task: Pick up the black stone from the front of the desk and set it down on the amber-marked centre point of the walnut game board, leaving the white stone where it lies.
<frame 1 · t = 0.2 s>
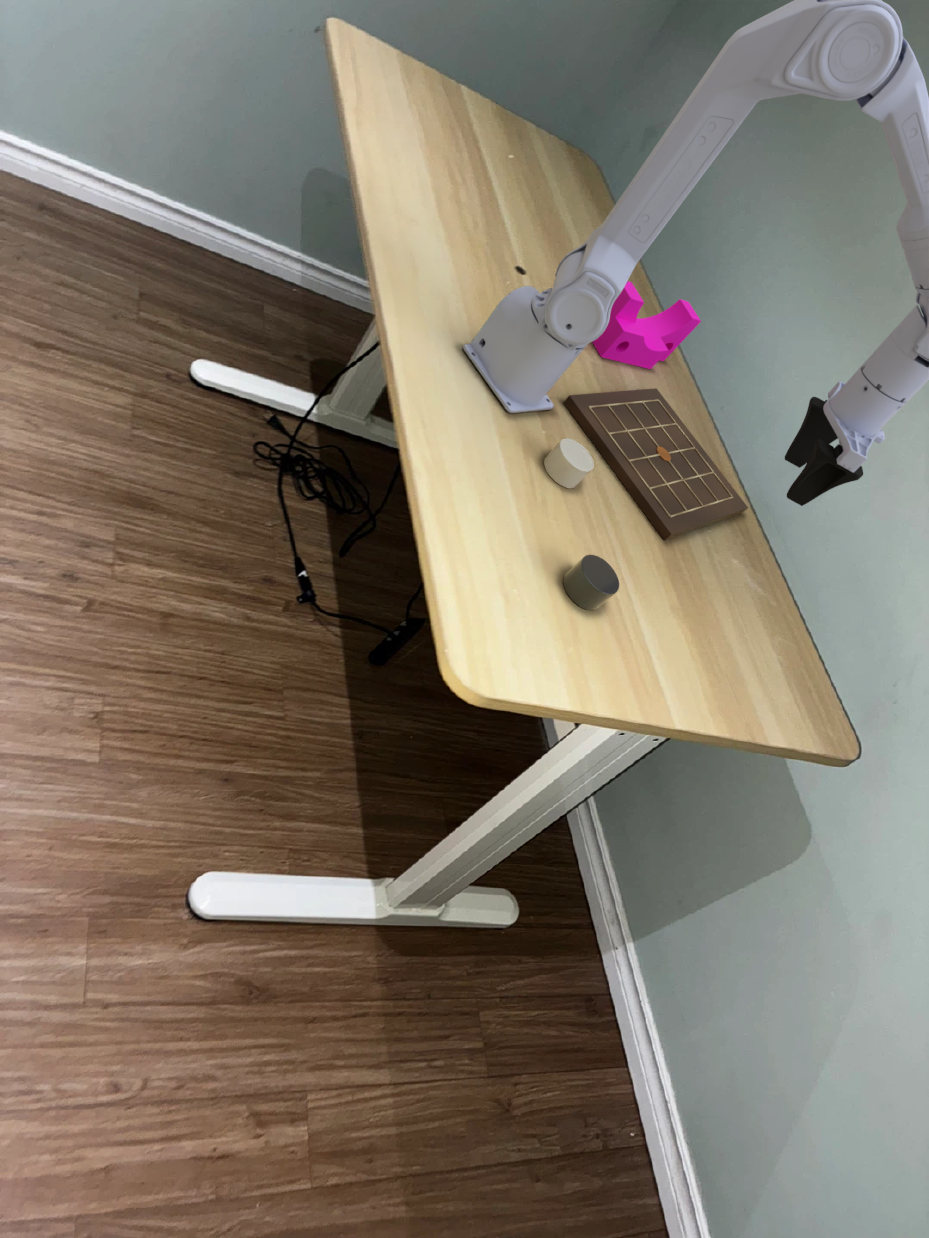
hand: (793, 480, 91), 10 cm above the table, tool pointing down, fingers open, 7 cm apart
toy block: (626, 350, 112), on the table
white stone: (560, 472, 86), on the table
board: (656, 460, 99), on the table
black stone: (581, 590, 76), on the table
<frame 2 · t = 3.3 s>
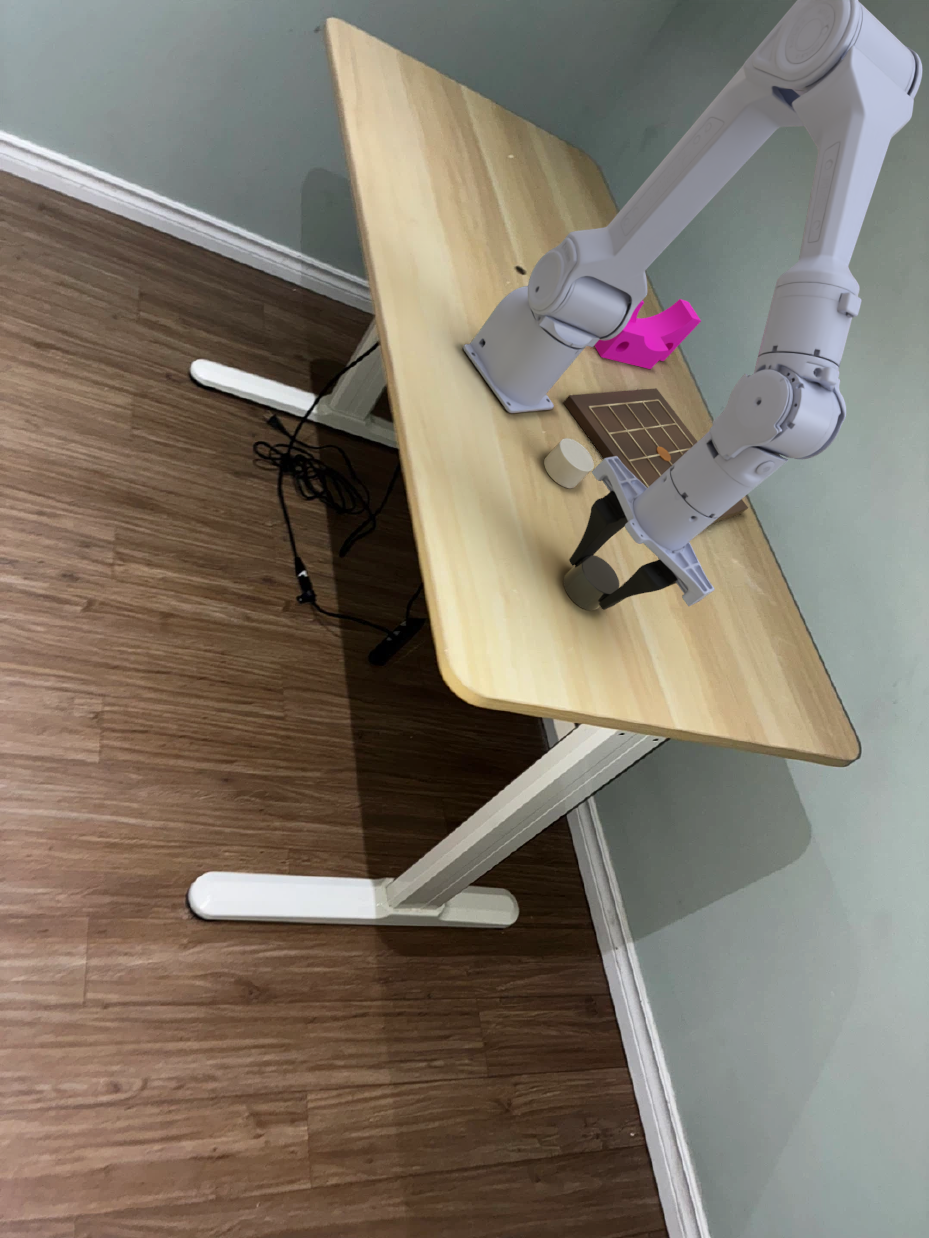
hand: (591, 582, 75), 1 cm above the table, tool pointing down, fingers closed on black stone, 4 cm apart
black stone: (581, 590, 76), on the table, touching gripper
everything else where it was.
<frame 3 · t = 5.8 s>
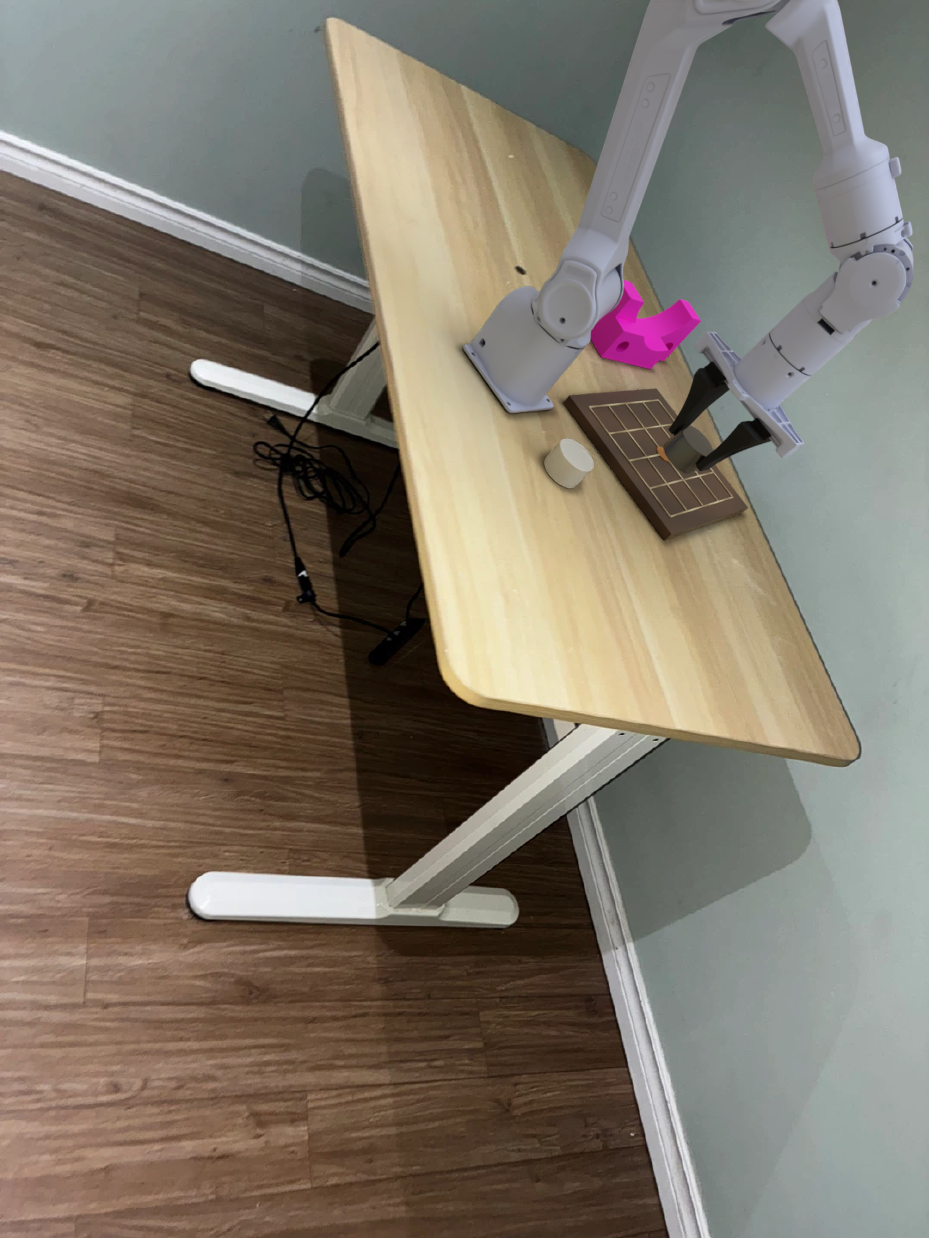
hand: (688, 449, 85), 8 cm above the table, tool pointing down, fingers closed on black stone, 4 cm apart
black stone: (678, 458, 86), point 7 cm above the table, touching gripper
everything else where it was.
when the fingers open (3 cm above the table, at t = 8.5 s): black stone stays where it is, resting on board.
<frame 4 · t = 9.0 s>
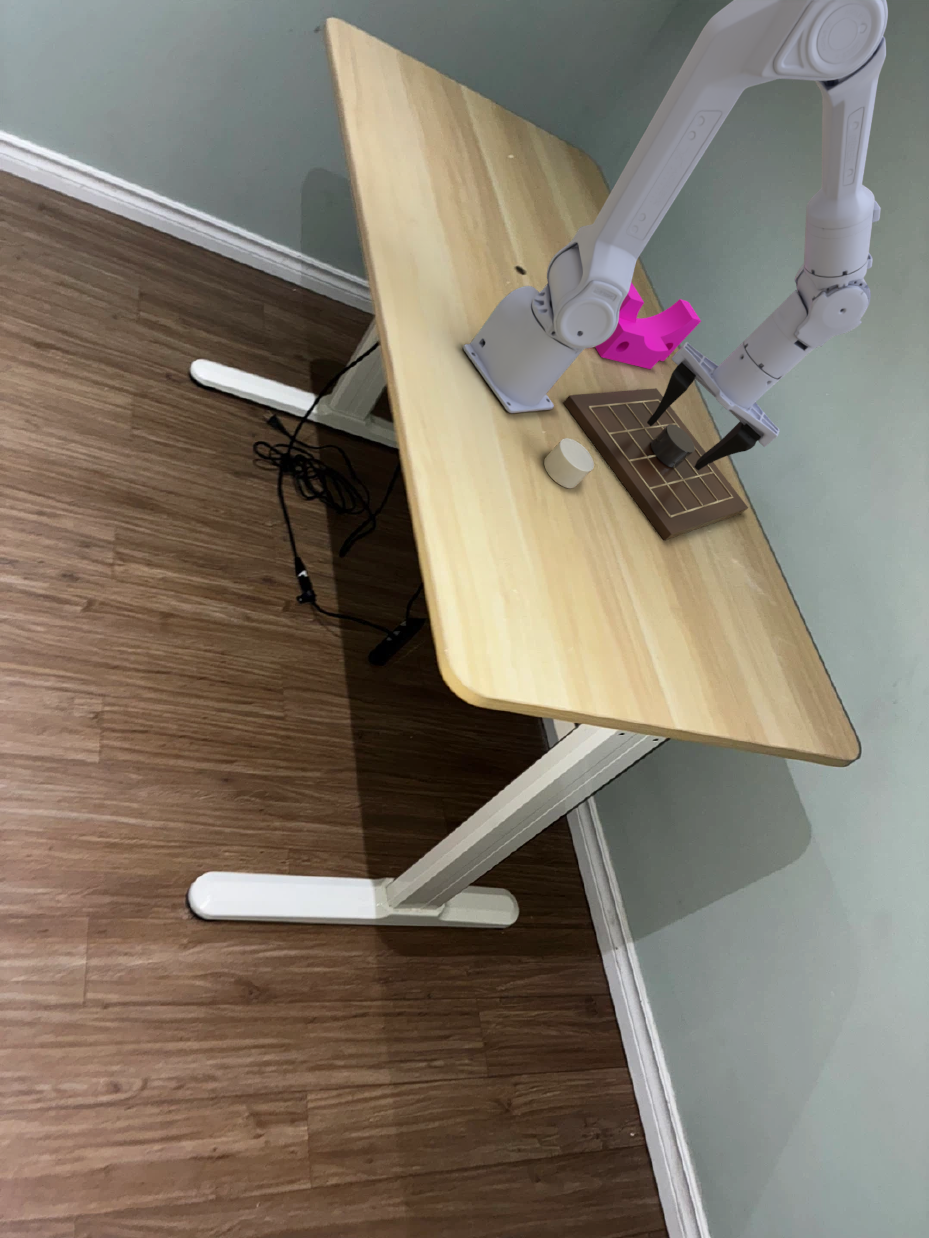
hand: (674, 443, 97), 3 cm above the table, tool pointing down, fingers open, 7 cm apart
black stone: (664, 453, 98), point 1 cm above the table, touching board
everything else where it was.
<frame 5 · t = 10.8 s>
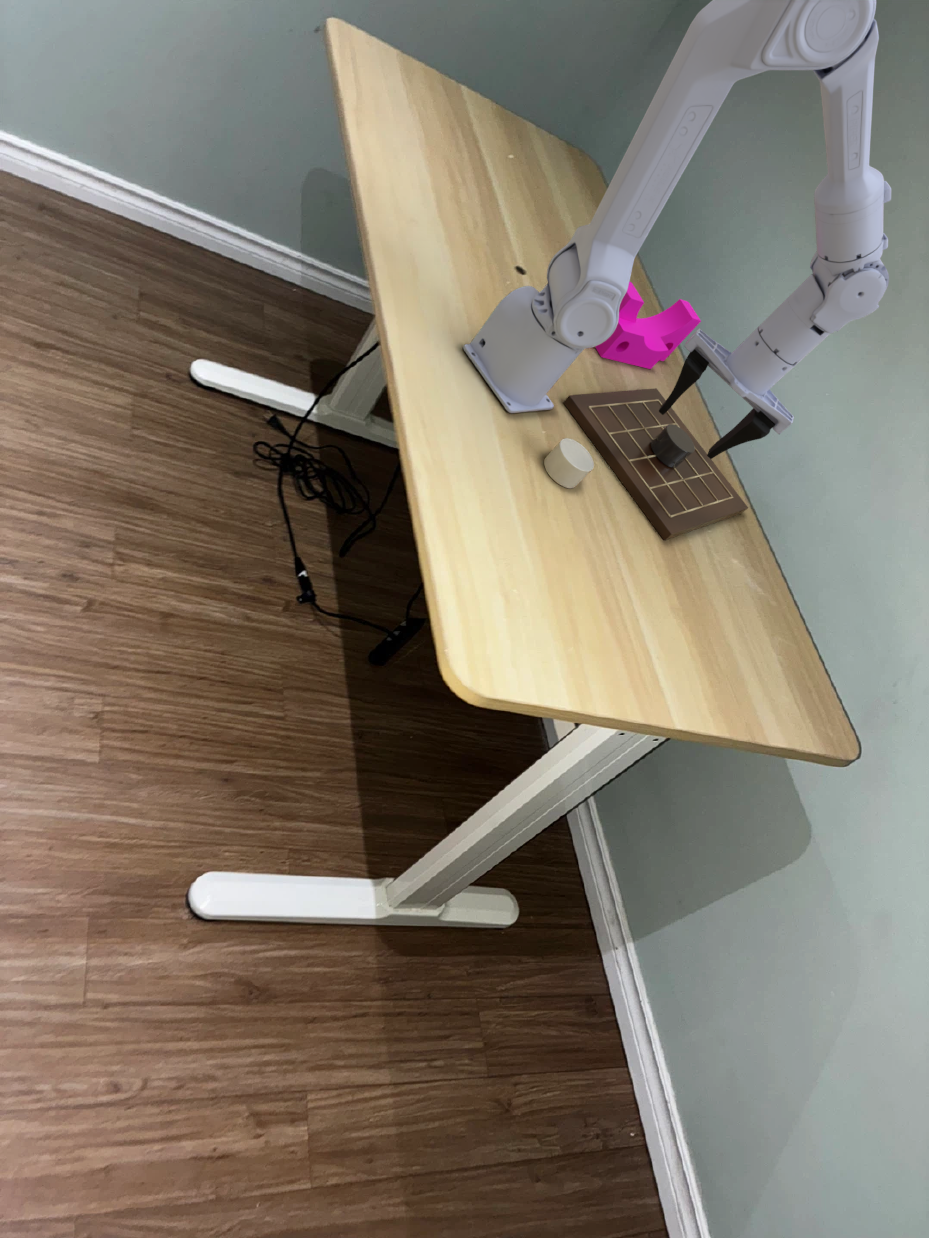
hand: (686, 432, 95), 5 cm above the table, tool pointing down, fingers open, 7 cm apart
nothing on the table moved.
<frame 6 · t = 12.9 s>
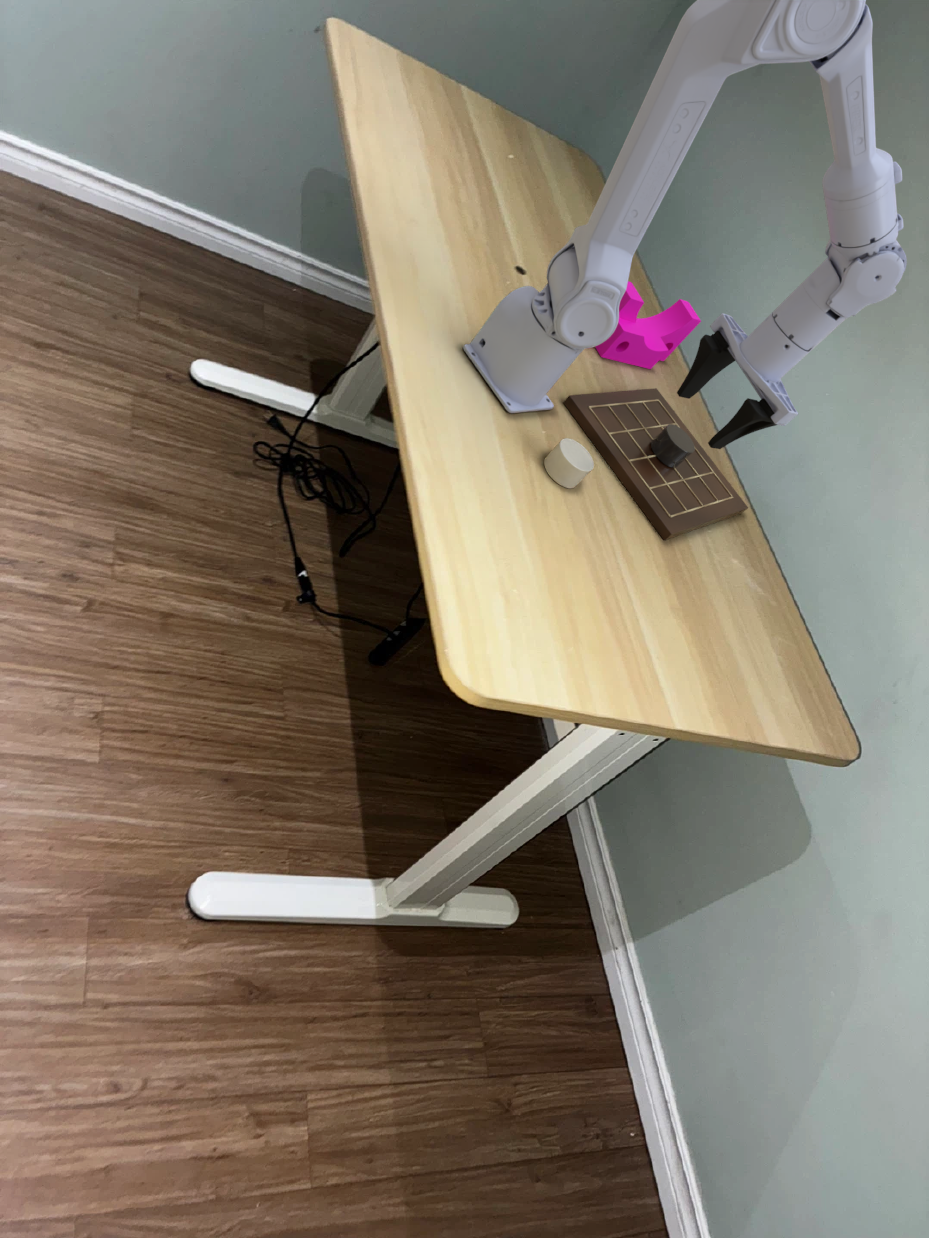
hand: (698, 420, 94), 7 cm above the table, tool pointing down, fingers open, 7 cm apart
nothing on the table moved.
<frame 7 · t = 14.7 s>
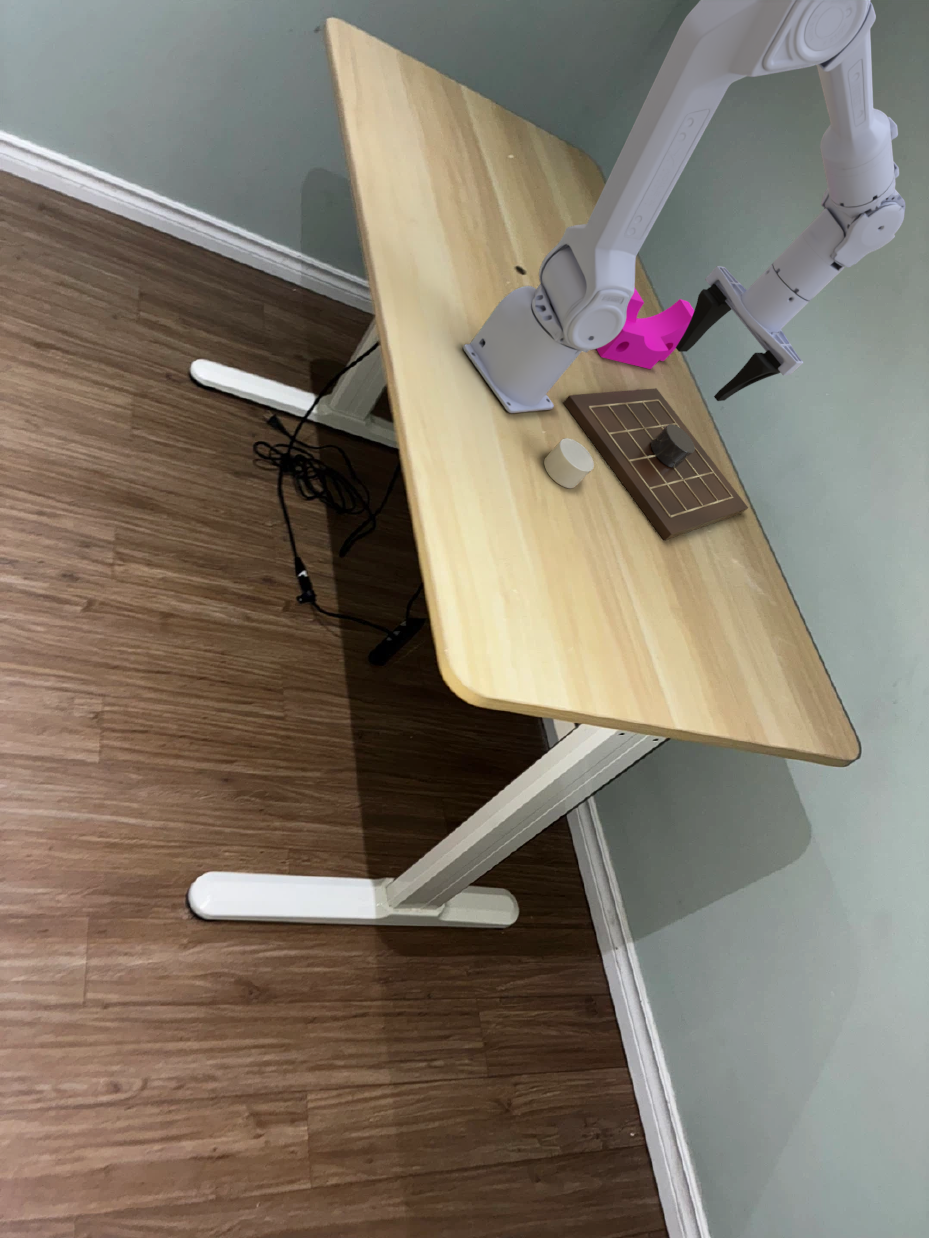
hand: (699, 374, 96), 9 cm above the table, tool pointing down, fingers open, 7 cm apart
nothing on the table moved.
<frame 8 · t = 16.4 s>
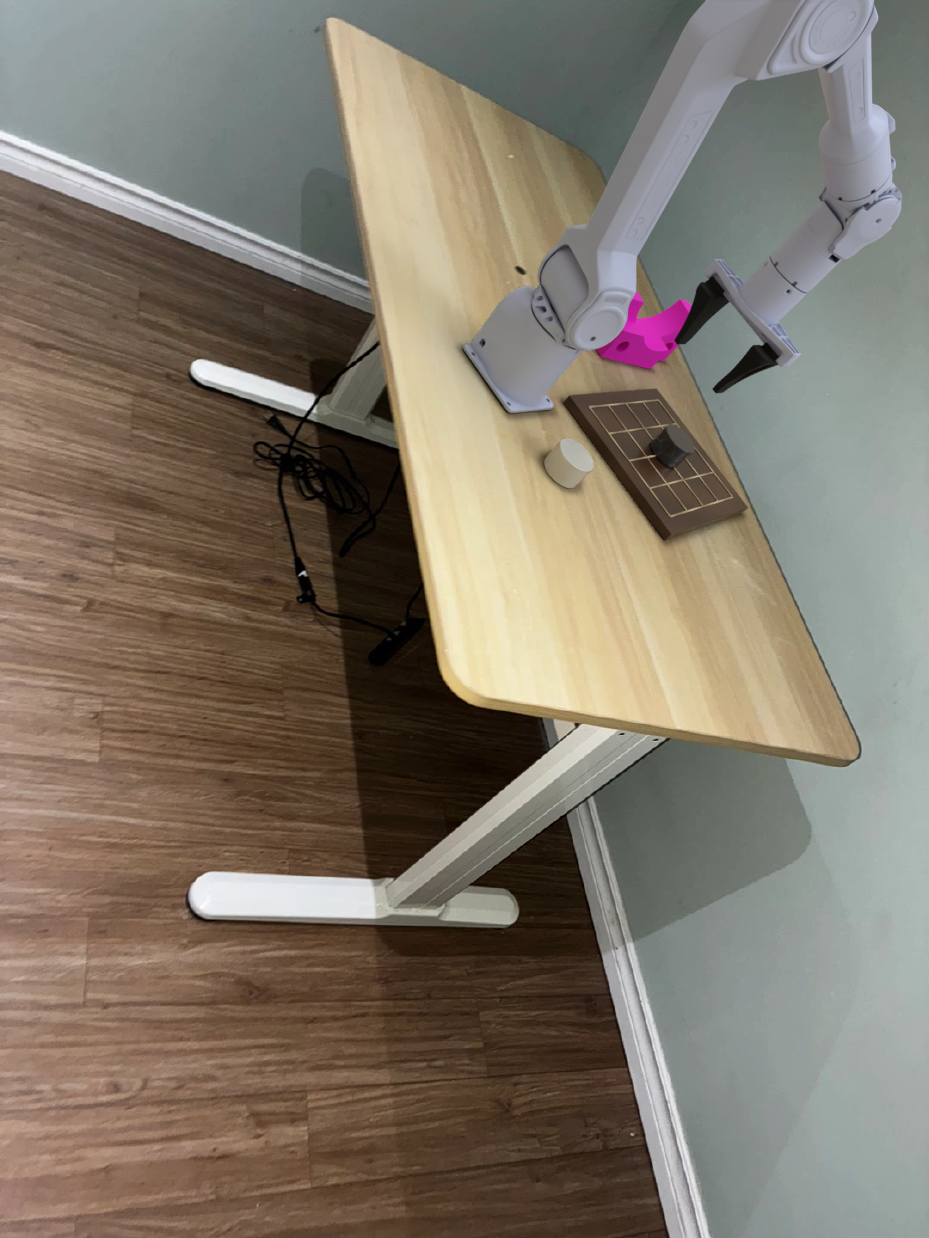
hand: (698, 366, 97), 9 cm above the table, tool pointing down, fingers open, 7 cm apart
nothing on the table moved.
at the end: black stone 0.1 cm off-centre on the board, point 1.3 cm above the board's base; the gripper is holding nothing; white stone moved 0.0 cm from its start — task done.
